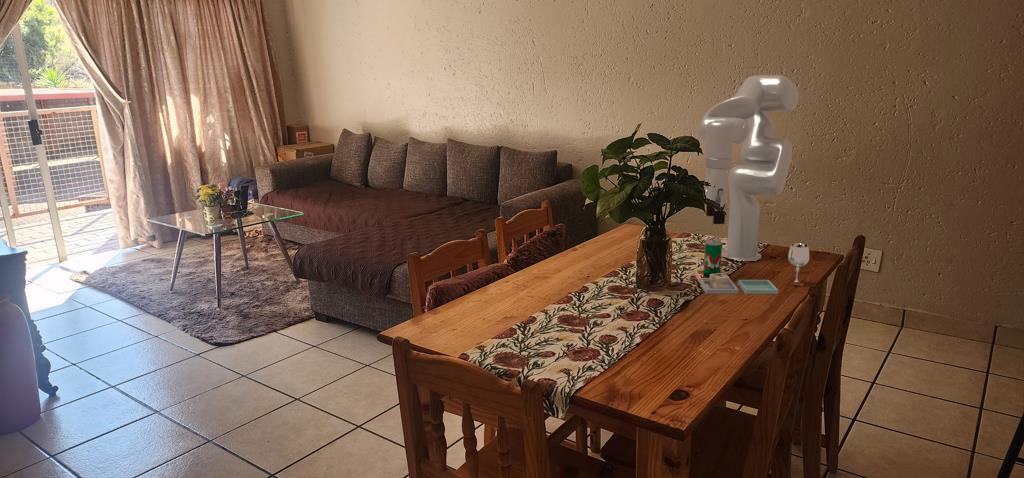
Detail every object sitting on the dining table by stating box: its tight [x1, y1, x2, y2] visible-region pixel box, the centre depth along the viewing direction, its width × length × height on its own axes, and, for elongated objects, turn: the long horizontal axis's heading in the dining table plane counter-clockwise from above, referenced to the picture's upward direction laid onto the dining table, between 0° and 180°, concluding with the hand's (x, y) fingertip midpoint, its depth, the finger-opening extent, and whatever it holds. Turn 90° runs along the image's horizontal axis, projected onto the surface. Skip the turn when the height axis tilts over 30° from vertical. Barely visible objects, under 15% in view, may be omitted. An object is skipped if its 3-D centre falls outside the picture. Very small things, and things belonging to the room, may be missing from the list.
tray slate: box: [699, 279, 739, 295], centre depth 193 cm, size 9×9×2 cm
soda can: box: [702, 237, 723, 278], centre depth 202 cm, size 5×5×12 cm
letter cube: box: [709, 273, 730, 289], centre depth 193 cm, size 4×4×4 cm
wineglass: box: [787, 242, 810, 282], centre depth 196 cm, size 6×6×12 cm
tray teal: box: [737, 279, 779, 295], centre depth 192 cm, size 9×9×2 cm
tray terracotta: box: [693, 269, 731, 284], centre depth 203 cm, size 9×9×2 cm
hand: (715, 219), depth 199 cm, fingers open, 9 cm apart
